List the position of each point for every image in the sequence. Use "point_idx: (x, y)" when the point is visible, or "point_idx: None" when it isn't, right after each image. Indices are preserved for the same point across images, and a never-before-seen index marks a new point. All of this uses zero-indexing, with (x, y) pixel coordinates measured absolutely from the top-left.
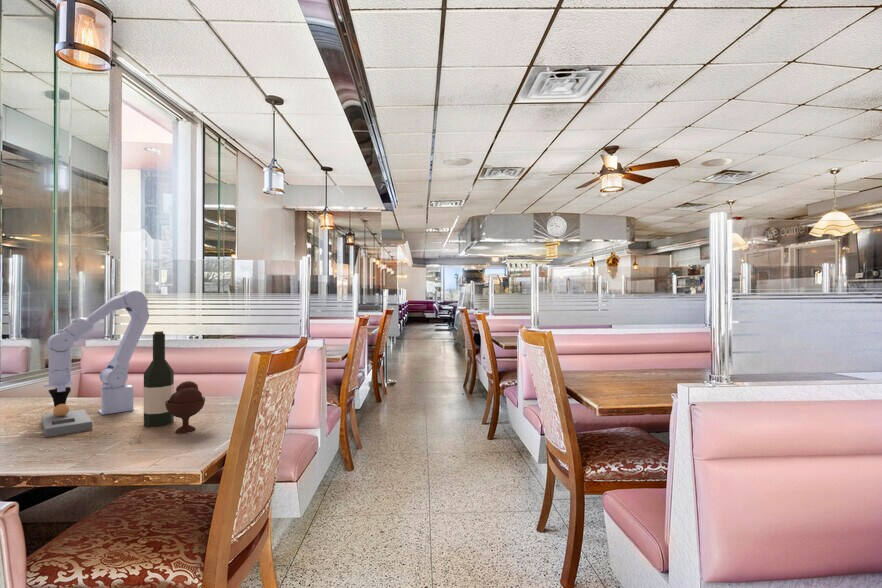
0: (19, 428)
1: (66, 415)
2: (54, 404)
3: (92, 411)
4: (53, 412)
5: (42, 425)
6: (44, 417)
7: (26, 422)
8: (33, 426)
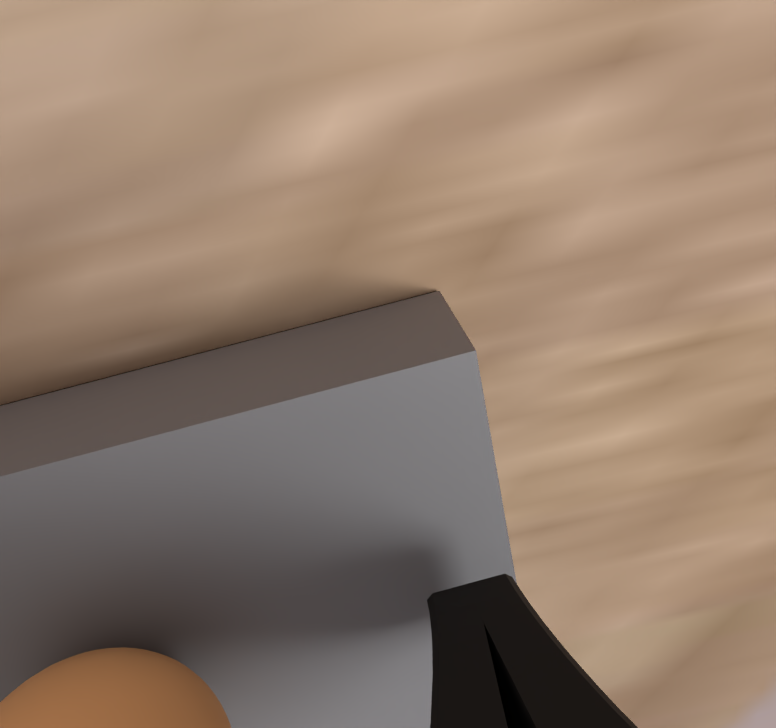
0: (94, 10)
1: None
2: (432, 721)
3: (747, 684)
4: (22, 699)
5: (158, 365)
6: (156, 465)
7: (631, 15)
8: (170, 235)
